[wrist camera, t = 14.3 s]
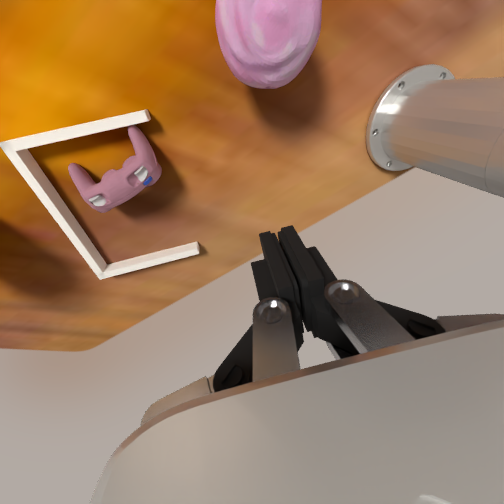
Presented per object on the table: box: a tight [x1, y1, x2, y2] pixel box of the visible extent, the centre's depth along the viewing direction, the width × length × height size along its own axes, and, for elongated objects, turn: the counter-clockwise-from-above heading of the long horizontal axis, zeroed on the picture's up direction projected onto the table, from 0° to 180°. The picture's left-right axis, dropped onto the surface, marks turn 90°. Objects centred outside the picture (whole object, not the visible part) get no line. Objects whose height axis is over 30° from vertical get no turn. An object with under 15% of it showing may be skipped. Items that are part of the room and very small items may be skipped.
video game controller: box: [68, 125, 162, 213], centre depth 27 cm, size 10×5×7 cm, turn 117°
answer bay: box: [0, 109, 199, 279], centre depth 31 cm, size 15×19×2 cm
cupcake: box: [215, 0, 322, 89], centre depth 21 cm, size 9×9×10 cm
